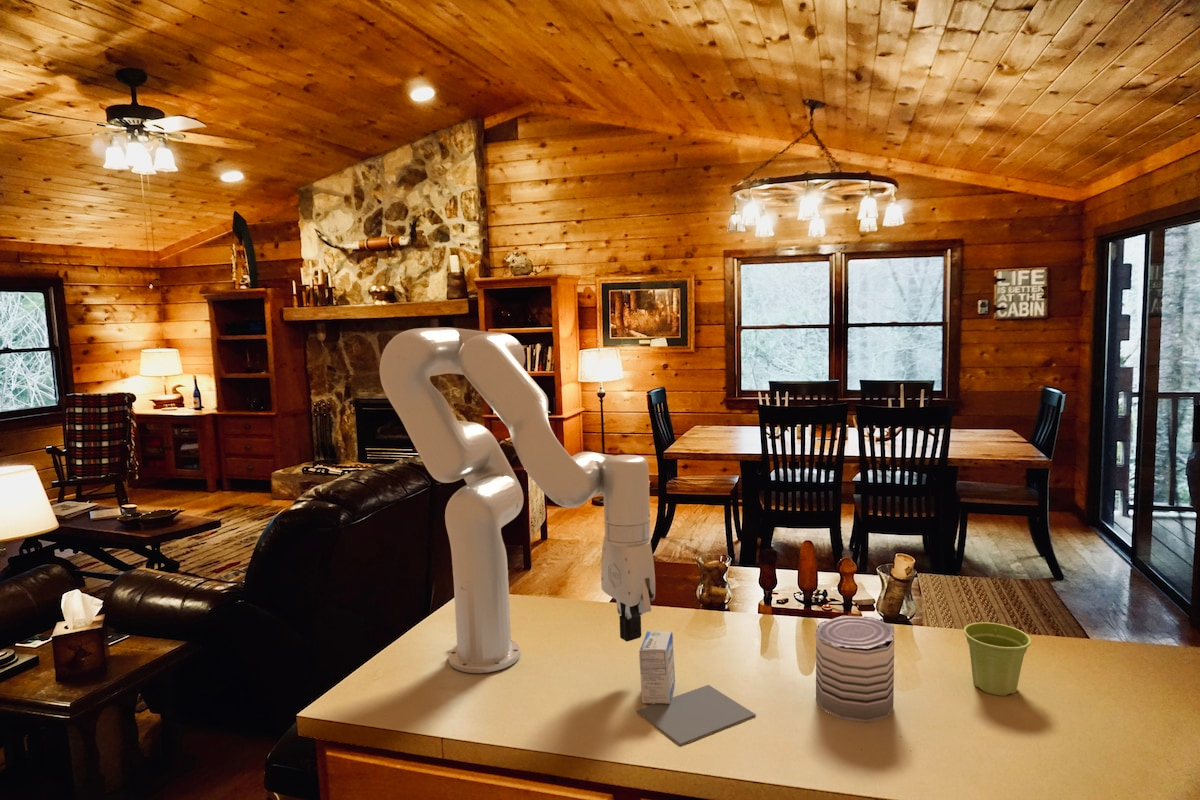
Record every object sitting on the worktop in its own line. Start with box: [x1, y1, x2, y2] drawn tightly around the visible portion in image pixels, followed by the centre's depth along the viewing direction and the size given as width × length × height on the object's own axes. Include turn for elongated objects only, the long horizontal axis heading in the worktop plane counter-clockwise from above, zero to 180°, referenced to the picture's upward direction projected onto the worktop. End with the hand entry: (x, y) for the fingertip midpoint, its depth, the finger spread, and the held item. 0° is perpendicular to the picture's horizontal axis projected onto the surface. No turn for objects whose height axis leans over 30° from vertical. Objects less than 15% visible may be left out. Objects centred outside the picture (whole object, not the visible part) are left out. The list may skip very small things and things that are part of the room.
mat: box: [636, 684, 757, 747], centre depth 114 cm, size 11×14×1 cm
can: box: [815, 615, 895, 724], centre depth 116 cm, size 11×11×12 cm
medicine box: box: [638, 630, 676, 704], centre depth 120 cm, size 8×4×9 cm, turn 168°
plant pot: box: [963, 621, 1032, 697], centre depth 119 cm, size 9×9×9 cm
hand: (630, 637), depth 127 cm, fingers closed
